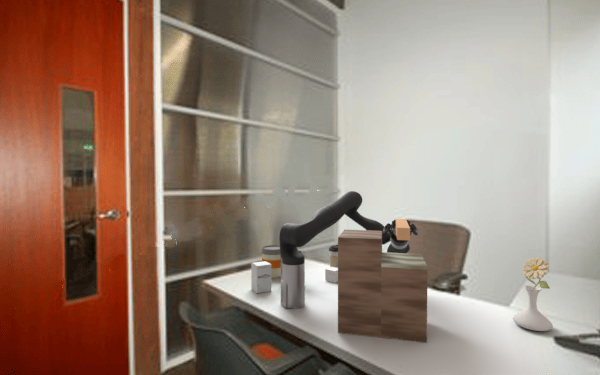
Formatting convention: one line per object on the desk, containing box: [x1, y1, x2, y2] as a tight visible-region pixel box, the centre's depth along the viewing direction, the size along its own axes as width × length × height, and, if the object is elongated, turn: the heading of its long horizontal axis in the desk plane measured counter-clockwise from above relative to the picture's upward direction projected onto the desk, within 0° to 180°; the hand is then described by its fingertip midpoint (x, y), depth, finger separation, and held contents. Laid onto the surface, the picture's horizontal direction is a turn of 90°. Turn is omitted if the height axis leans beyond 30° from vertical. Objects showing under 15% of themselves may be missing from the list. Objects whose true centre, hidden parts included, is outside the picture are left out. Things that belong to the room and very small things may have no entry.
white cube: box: [324, 266, 338, 284], centre depth 171 cm, size 6×6×6 cm
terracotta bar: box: [394, 218, 411, 241], centre depth 121 cm, size 24×4×4 cm, turn 166°
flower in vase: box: [512, 256, 554, 332], centre depth 115 cm, size 13×11×25 cm
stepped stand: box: [337, 229, 428, 344], centre depth 117 cm, size 18×28×32 cm, turn 76°
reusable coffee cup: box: [261, 244, 281, 279], centre depth 180 cm, size 13×13×15 cm
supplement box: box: [250, 261, 272, 294], centre depth 155 cm, size 7×7×13 cm
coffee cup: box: [328, 244, 338, 268], centre depth 185 cm, size 9×9×15 cm
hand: (401, 222), depth 127 cm, fingers closed on terracotta bar, 4 cm apart
